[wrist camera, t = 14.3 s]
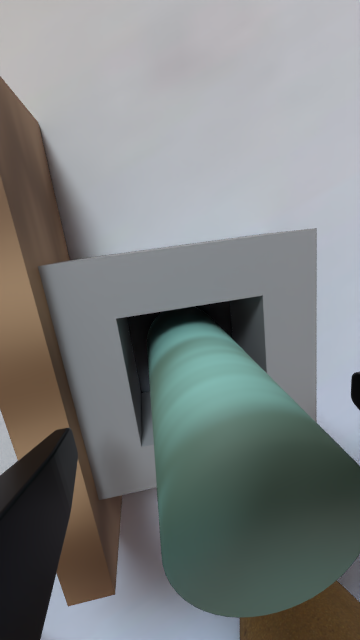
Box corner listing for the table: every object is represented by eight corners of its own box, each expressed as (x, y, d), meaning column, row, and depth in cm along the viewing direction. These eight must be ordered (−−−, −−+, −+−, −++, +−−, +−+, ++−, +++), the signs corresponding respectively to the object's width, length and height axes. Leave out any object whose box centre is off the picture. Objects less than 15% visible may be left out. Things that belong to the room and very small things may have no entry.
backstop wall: (122, 489, 17) (115, 594, 12) (89, 496, 17) (68, 606, 12) (38, 122, 12) (-40, 27, 7) (-11, 126, 12) (-130, 31, 7)
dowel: (221, 367, 16) (368, 587, 6) (152, 379, 16) (177, 639, 5) (214, 300, 15) (381, 419, 5) (141, 311, 15) (144, 469, 4)
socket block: (272, 401, 17) (316, 452, 13) (109, 433, 16) (98, 500, 12) (264, 233, 15) (316, 228, 10) (69, 260, 14) (37, 266, 9)
